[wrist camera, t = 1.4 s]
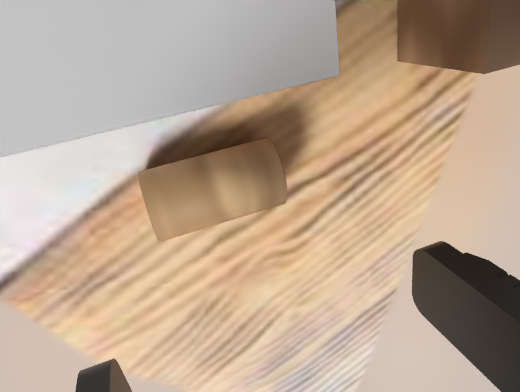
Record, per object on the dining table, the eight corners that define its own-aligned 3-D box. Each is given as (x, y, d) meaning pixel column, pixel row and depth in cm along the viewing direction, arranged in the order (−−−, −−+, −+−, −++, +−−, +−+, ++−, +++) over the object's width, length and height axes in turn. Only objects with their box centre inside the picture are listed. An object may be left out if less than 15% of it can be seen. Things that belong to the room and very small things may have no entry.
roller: (160, 232, 17) (160, 250, 14) (140, 168, 17) (136, 175, 14) (272, 198, 18) (292, 209, 16) (257, 137, 18) (275, 137, 15)
